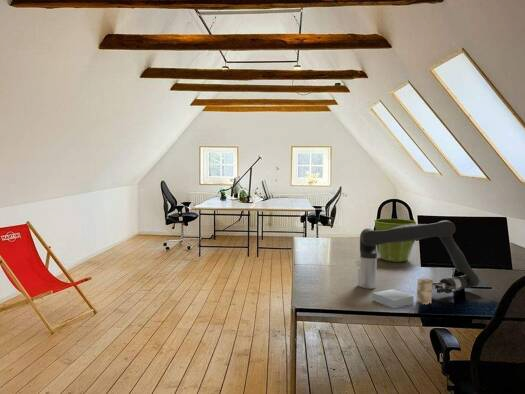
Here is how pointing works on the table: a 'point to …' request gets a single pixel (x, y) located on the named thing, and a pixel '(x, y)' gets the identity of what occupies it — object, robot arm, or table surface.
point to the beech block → (424, 290)
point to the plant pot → (395, 249)
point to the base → (393, 298)
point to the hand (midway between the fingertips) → (430, 288)
